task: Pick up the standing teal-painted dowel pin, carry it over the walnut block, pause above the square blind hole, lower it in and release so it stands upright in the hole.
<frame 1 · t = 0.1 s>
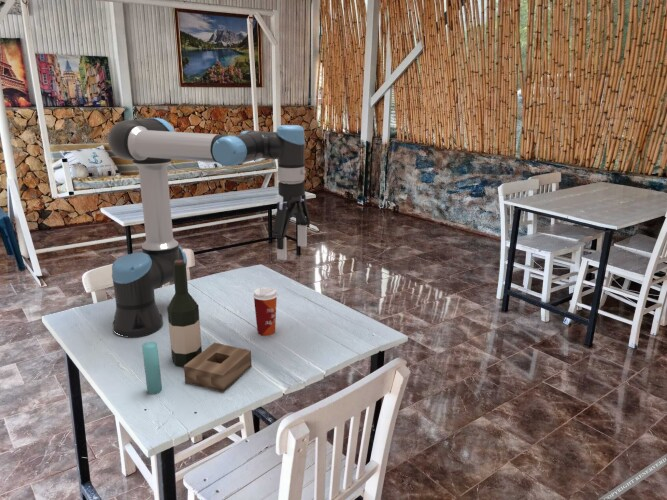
hand: (292, 252, 155), 28 cm above the table, fingers open, 13 cm apart
paper cup: (266, 332, 168), on the table
pin: (154, 390, 136), on the table
wine bottle: (187, 360, 150), on the table
bore block: (219, 374, 143), on the table
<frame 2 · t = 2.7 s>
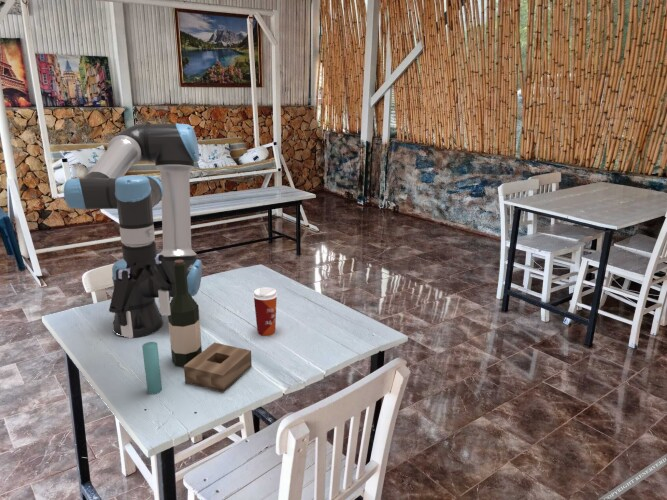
hand: (147, 325, 130), 19 cm above the table, fingers open, 13 cm apart
nothing on the table moved.
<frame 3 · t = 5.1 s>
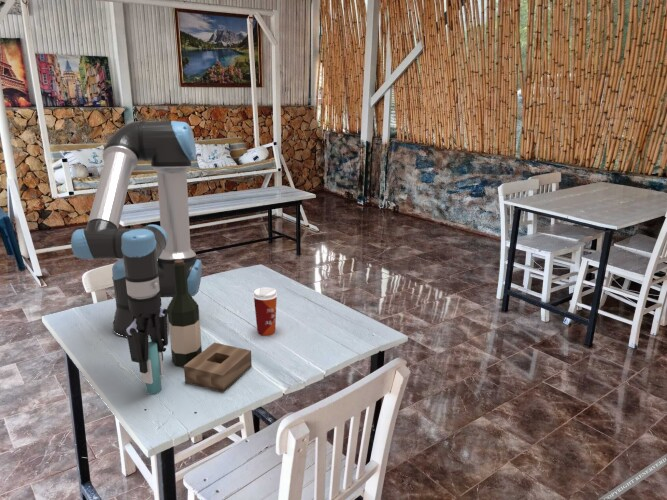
hand: (153, 378, 134), 4 cm above the table, fingers closed on pin, 3 cm apart
pin: (154, 390, 136), on the table, touching gripper
everything else where it was.
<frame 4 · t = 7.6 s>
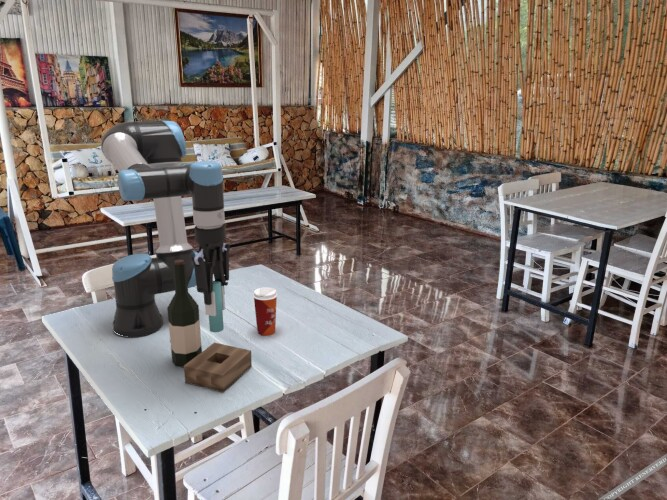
hand: (215, 311, 137), 19 cm above the table, fingers closed on pin, 3 cm apart
pin: (216, 329, 139), point 14 cm above the table, touching gripper
everything else where it was.
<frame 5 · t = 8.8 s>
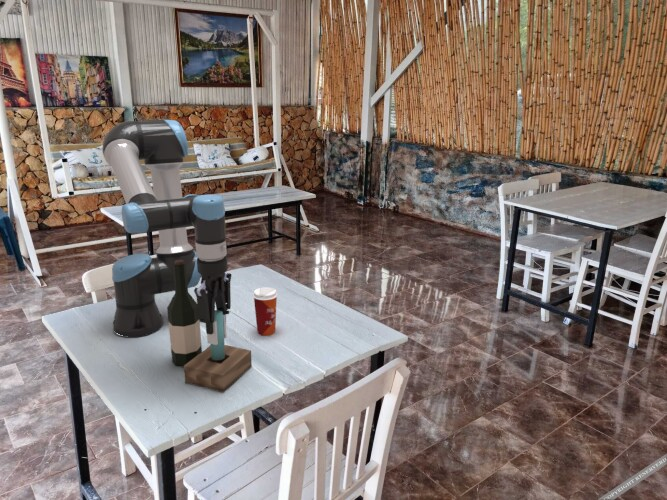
hand: (217, 339, 140), 10 cm above the table, fingers closed on pin, 3 cm apart
pin: (218, 357, 142), point 5 cm above the table, touching gripper
everything else where it was.
when the fingers open (7 cm above the table, at t = 10.1 s): pin stays where it is, resting on bore block.
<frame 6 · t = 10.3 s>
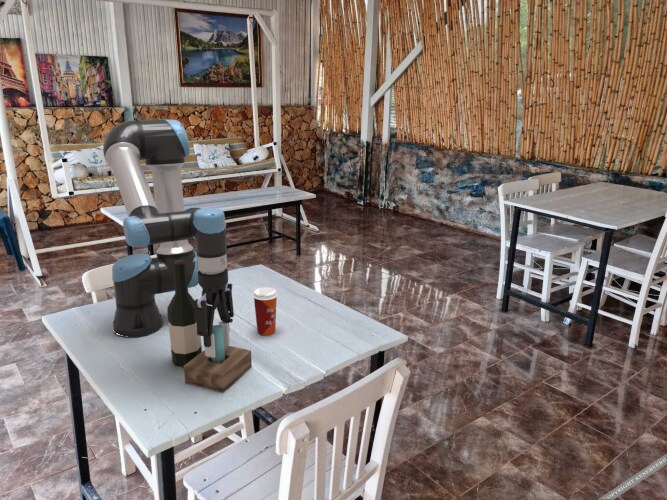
hand: (217, 350, 141), 7 cm above the table, fingers open, 6 cm apart
pin: (219, 370, 143), point 1 cm above the table, touching bore block
everything else where it was.
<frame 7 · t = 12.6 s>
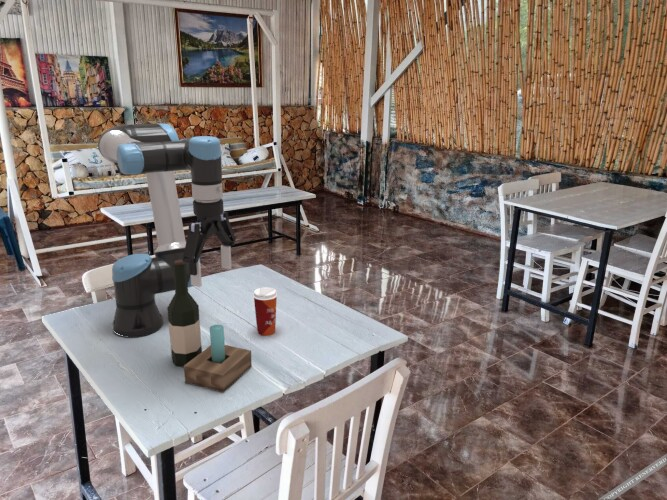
hand: (212, 276, 140), 26 cm above the table, fingers open, 13 cm apart
nothing on the table moved.
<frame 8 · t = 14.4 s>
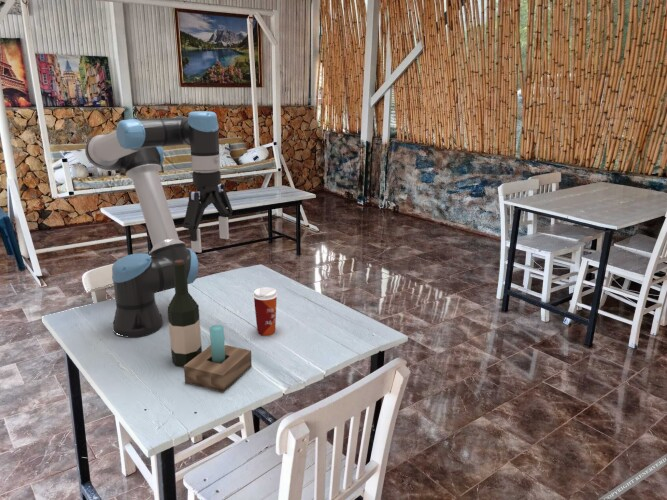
hand: (211, 244, 149), 32 cm above the table, fingers open, 13 cm apart
nothing on the table moved.
at the end: pin 0.1 cm off-centre on the bore block, point 1.0 cm above the bore block's base; pin tilted 0°; the gripper is holding nothing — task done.
